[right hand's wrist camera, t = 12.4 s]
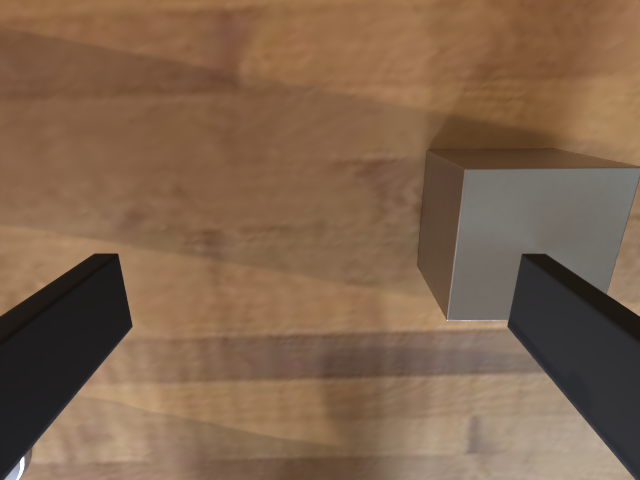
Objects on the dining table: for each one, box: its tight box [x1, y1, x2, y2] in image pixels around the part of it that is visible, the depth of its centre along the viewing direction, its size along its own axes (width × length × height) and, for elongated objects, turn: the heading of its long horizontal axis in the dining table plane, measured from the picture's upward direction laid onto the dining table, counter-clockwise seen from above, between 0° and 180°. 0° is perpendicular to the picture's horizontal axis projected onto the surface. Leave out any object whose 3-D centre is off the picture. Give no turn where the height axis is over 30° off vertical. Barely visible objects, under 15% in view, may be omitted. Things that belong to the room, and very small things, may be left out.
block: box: [417, 149, 640, 321], centre depth 25 cm, size 9×9×8 cm
